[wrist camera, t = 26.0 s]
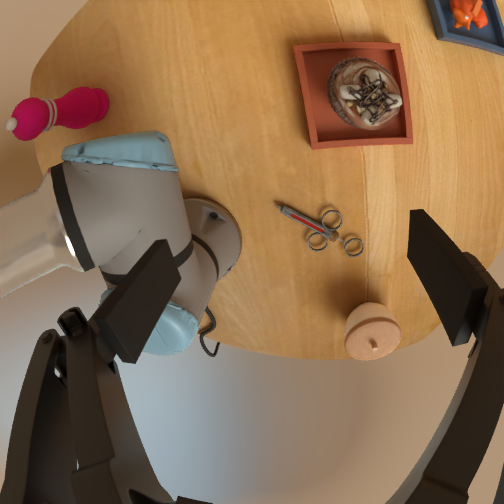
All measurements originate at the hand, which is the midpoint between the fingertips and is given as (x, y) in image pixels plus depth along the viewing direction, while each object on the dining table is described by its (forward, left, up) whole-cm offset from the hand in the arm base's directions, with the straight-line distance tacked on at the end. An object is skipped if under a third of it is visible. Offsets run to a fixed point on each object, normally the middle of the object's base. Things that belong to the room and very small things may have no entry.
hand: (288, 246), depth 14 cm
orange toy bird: (+24, -33, -28) cm, 50 cm away
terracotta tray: (+8, -10, -29) cm, 31 cm away
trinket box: (-32, -11, -29) cm, 45 cm away
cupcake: (+8, -10, -28) cm, 31 cm away
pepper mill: (+16, +31, -29) cm, 45 cm away
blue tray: (+25, -33, -29) cm, 50 cm away
